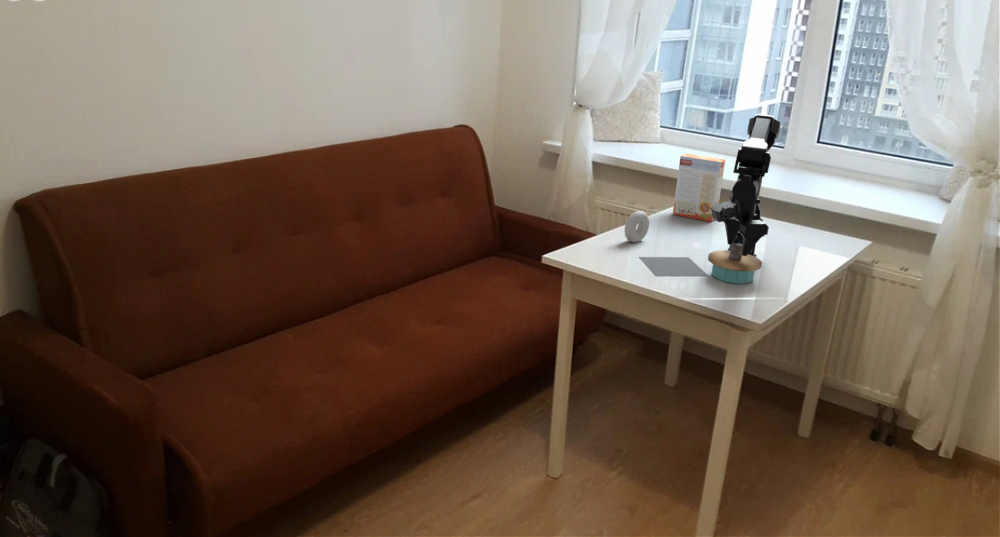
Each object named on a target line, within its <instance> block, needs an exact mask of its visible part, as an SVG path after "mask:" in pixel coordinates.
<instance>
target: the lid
mask: <svg viewBox="0 0 1000 537" xmlns="http://www.w3.org/2000/svg"><path fill="white" fill-rule="evenodd" d="M707 260H708V262H709V263H711V264H712V265H713V264H714V265H716V266H719V267H722V268H725V269H730V270H736V271H754V270H755V271H757V270H758V271H759V270H761V268H762V265H763V262H762V260H761V259H759V257H757V256H756V257H755V256H752V255H750V254H748V255H747V256H743V255H742V244H739V243H732V244H731V248H730V251H728V249H727V250H725V249H723V250H714V251H711V252H710V253H708V255H707Z"/></svg>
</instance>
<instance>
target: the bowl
mask: <svg viewBox="0 0 1000 537" xmlns="http://www.w3.org/2000/svg"><path fill="white" fill-rule="evenodd" d="M755 271H756V270H754V271H736V270H730V269H725V268H722V267H719V266H716V265H714V264H712V270H711V275H712V276H713V277H714V278H716V279H717V280H719V281H722V282H725V283H727V284H728V283H729V284H735V285H737V284H738V285H741V284H749V283H751V282H753V281H754V277H755Z"/></svg>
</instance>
